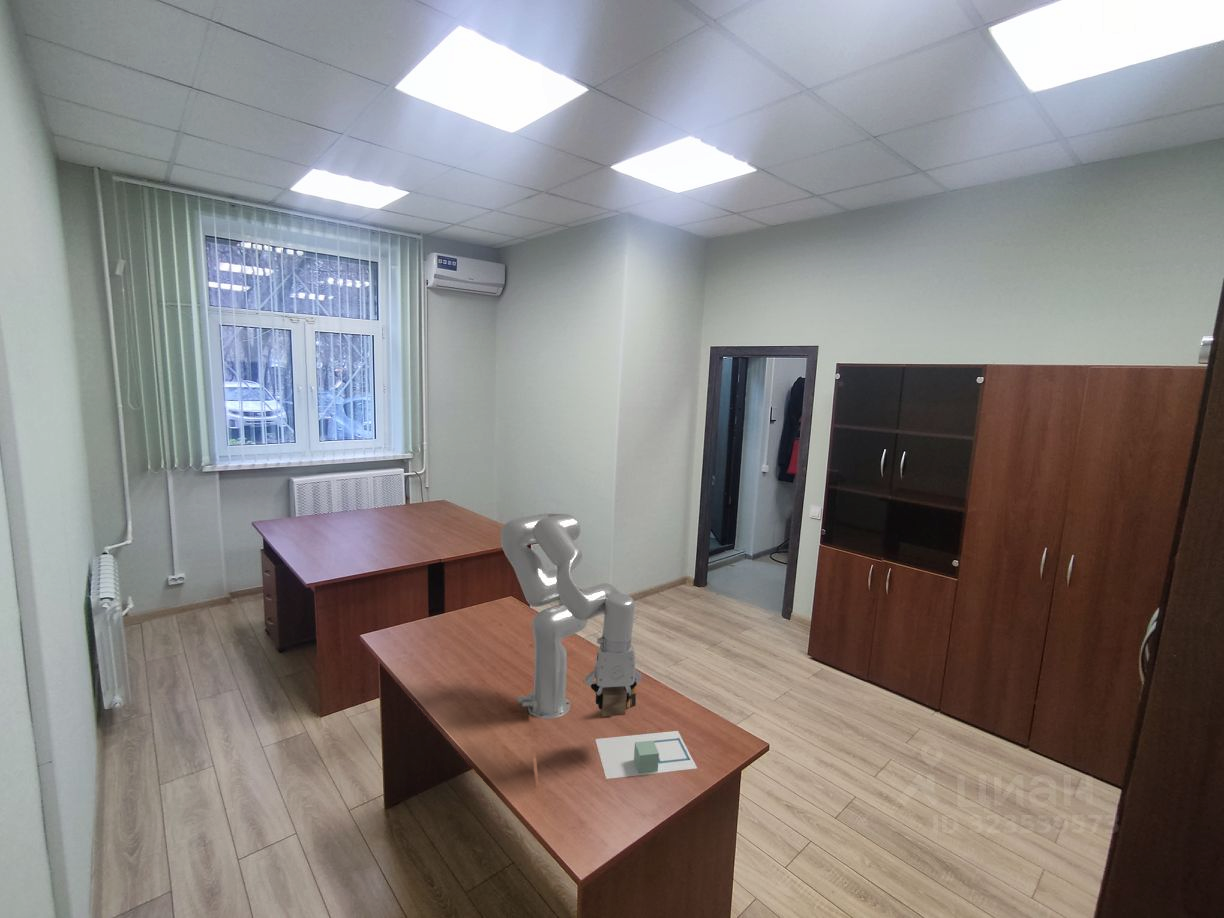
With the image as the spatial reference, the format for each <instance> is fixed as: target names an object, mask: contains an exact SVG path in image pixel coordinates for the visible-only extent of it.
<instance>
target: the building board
mask: <svg viewBox="0 0 1224 918" xmlns="http://www.w3.org/2000/svg"><path fill="white" fill-rule="evenodd" d="M643 741H654V743H655V746H656V748H657V750H658V752H659V761H658V771H657V772H648V773H640V774H639V773H638V770H637V767H636V764H635V762H634V748H635V742H643ZM595 743H596V746H597V747H596V748H597V751H598V755H599V757H600V761H601V765H602V768H603V772H604V775H605V779H606V780H610V779H618V778H629V777H636V776H645V775H653V774H661V773H668V772H669V773H670V772H679V771H686V770H695V769H696V770H697V769H698V767H697V764H696V763H695V761H694V759H693V757H692V756H691V754H690V752H689V749H688V747H687V745H686V744H685V742H684V739H683V738H682V736H681V734H680V732H679V730H673V731H663V732H654V733H653V732H652V733H645V734H644V733H642V734H632V735H624V736H622V735H621V736H613V737H603V738H595Z"/></svg>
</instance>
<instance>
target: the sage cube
mask: <svg viewBox="0 0 1224 918" xmlns="http://www.w3.org/2000/svg"><path fill="white" fill-rule="evenodd" d="M658 761H659V752H658V750H657V748H656V746H655V743H654V741H643V742H635V748H634V762H635V764H636V767H637V770H638V773H639V774H640V773H648V772H657V771H658Z"/></svg>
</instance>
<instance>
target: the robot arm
mask: <svg viewBox="0 0 1224 918" xmlns="http://www.w3.org/2000/svg"><path fill="white" fill-rule="evenodd" d="M580 535H581V526H580V523H579V521H578V519H576V517H575V516H573V515H571V514H569V513H542V514H536V515H535V514H534V515H529V516H521V517H518V518H514V519H511V520H509V521H507V522H505V524H504V525H503V526H502V527H501V530H500V535H499V539H500V545H501V549H502V550H503V553H504V555H505V557H506V558H507V561H508V562H509V563H510V564H511V566H512V568H513V570H514V573H515V575H516V578H517V580H518V583H519V585H520V588H521V590H522V592H523V595H524V597H525V599H526V602H527V603H528V604H529V606H531V607H532V608H537V607H543V606H546V605H550V604H552V603H556V602H558V604H557V605H553V606H550V607H548V608H545V609H543V610H541V611H539V612H538V613H537V614H536V615H534V617H533V619H532V623H531V625H532V626H531V628H532V629H531V630H532V636H533V641H534V671H533V672H534V673H533V674H534V675H533V690H532V691H531V694H528V695H520V696H518V697H517V703H518V704H522V708H527V710H528V714H530V716H531V717H532V716H534V717H537V718H539V719H542V720H543V719H544V720H551V719H552V720H553V719H557V718H560V717H562V716H564V715H566V714H568V712H569V710H570V708H571V703H570V700H569V699H568V698H567V697H566V693H567V691H566V689H567V687H566V686H567V662H568V660H567V659H568V658H567V657H568V656H567V655H568V654H567V649H566V647H565V646H564V645H563V643H562V640H563V639H565V638H567V637H569V636H571V635H574V634H576V633H580V632H581V631H583V630H584V629H585V628H587V625H588V622H589V621H588V620H590V619H591V620H592V619H593V618H595V617H597V616H601V615H603V629H602V634H601V637H598V638H596V644H600V645H599V647H598V651H597V655H596V660H595V665H594V669H593V670H592V671H591V672H590V673H589V674H588V675H587V676H585V678H584V682H585V684H586V685H587V686H589V687H590V688H591V690H593V692H595V703H596V705H597V707H598V709H599V710H600V709H601V708H602V700H603V695H602V691H603V689H604V688H605V687H622V686H624V688H625V691H626V693H627V699H626V707H627V702H629V693H631V690H632V689H633V688H634V687H635V688H636V686H637V684H639V683H640V682H641V681H642V680H643V676H642V674H641V673H640V672H639V671H638V670H637V669H636V659H635V658H636V656H635V648H634V646H633V645H632V639H633V638H632V637H633V625H634V617H635V616H634V613H635V601H634V599H633V598H632V596H631V595H628V594H626V593H625V594H624V593H622V592H621V591H619V590H618V589H617V588H616V587H615V586H613V585H612V584H610V583H607V582H605V583H600V584H598V585H597V584H596V585H594V586H591V587H587V588H584V589H582V590H580V589H579V587H578V585H576V582H575V581H574V579H573V577H572V574H571V573H572V572H573V571H574V570H575V568H577V567H578V566H579V564H580V563H581V562H582V559H583V552H582V549H580V547H579V546H578V545H577V543H576V542H575V540H577V539H578V538H579V537H580ZM531 544H538V546H539V547H540V548H541V550H542V551H543V552H544V554H545V555H546V556H547V558H548V559H549V561H550V562H551V563H552V564H553V566H554V567H555V569H551V570H547V569H546V568H545V567H544V564H543V562H542V560H541V558H540V557H539V555H538V554H537V553H536V552H535V551H534V550H532V549H531V548H530V547H528V545H531ZM594 679H595V681H593V680H594Z"/></svg>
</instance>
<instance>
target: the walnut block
mask: <svg viewBox="0 0 1224 918" xmlns="http://www.w3.org/2000/svg"><path fill="white" fill-rule="evenodd" d="M602 695H603V700H602V708H601V709H599V710H600V713H601V716H602V718H604V717H608V716H611V717H617V716H620V717H621V716H625V715H626V711H627V710H626V709H627V708H626V699H627V693H626V691H625V688H624V686H622V687H605V688H604V689H603V691H602Z"/></svg>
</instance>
